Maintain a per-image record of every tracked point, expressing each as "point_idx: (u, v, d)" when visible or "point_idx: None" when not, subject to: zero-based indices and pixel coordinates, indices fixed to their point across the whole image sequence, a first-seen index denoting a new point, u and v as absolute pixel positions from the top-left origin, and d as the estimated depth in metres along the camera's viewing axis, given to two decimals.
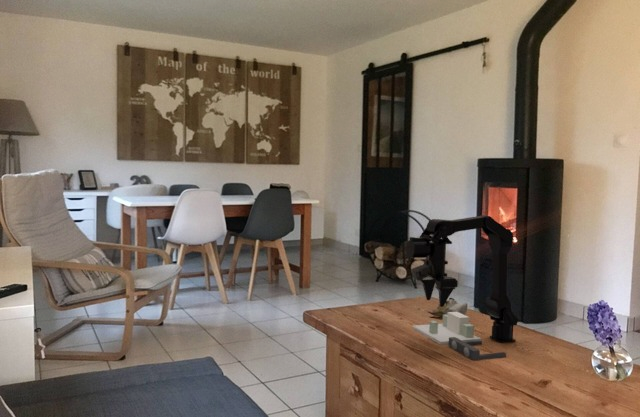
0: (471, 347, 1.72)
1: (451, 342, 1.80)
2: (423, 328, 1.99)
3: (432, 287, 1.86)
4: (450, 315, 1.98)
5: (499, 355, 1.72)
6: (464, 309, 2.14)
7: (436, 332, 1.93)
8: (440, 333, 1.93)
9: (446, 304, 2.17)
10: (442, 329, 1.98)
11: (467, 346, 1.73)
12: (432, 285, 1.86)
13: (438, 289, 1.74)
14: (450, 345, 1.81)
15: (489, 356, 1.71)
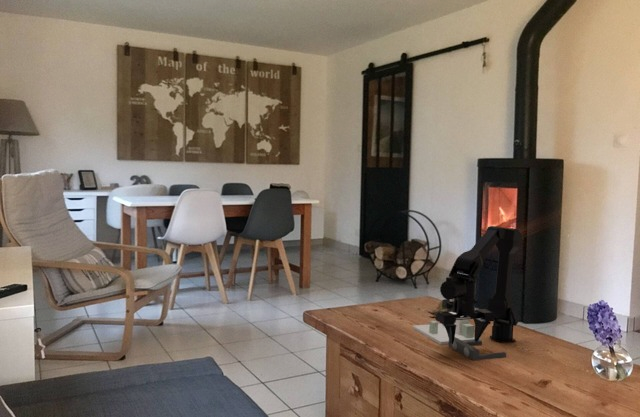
0: (471, 347, 1.72)
1: None
2: (423, 328, 1.99)
3: (479, 330, 1.76)
4: None
5: (499, 355, 1.72)
6: None
7: (436, 332, 1.93)
8: (440, 333, 1.93)
9: None
10: (442, 329, 1.98)
11: (467, 346, 1.73)
12: (480, 327, 1.76)
13: None
14: (450, 345, 1.81)
15: (489, 356, 1.71)
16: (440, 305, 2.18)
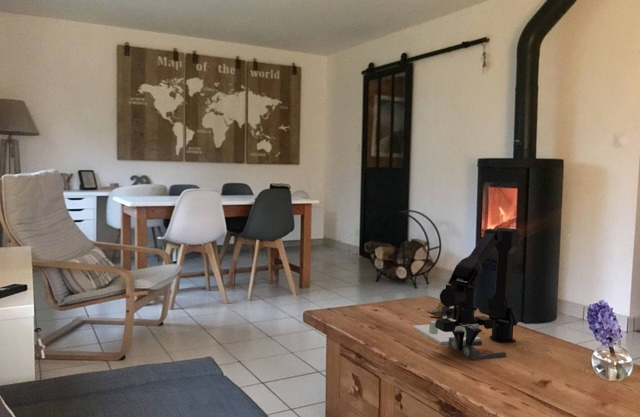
0: (471, 347, 1.72)
1: (451, 342, 1.80)
2: (423, 328, 1.99)
3: (470, 337, 1.75)
4: None
5: (499, 355, 1.72)
6: None
7: (436, 332, 1.93)
8: (440, 333, 1.93)
9: None
10: None
11: (467, 346, 1.73)
12: (471, 335, 1.75)
13: None
14: (450, 345, 1.81)
15: (489, 356, 1.71)
16: (440, 305, 2.18)
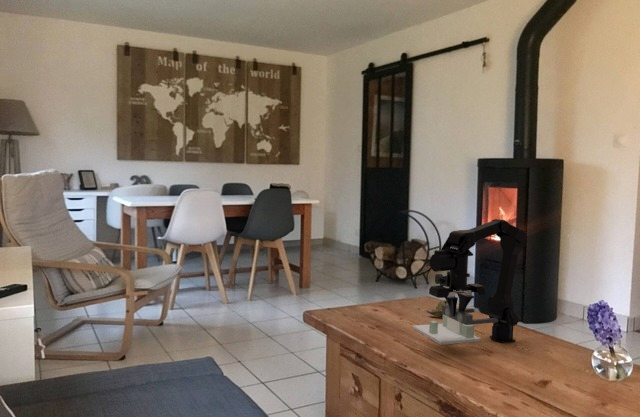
0: (464, 313, 1.76)
1: (445, 309, 1.84)
2: (423, 328, 1.99)
3: (463, 304, 1.79)
4: None
5: (491, 320, 1.76)
6: None
7: (436, 332, 1.93)
8: (440, 333, 1.93)
9: (445, 304, 2.17)
10: (442, 329, 1.98)
11: (460, 312, 1.77)
12: (464, 302, 1.79)
13: None
14: (443, 313, 1.85)
15: (482, 321, 1.75)
16: (439, 305, 2.19)
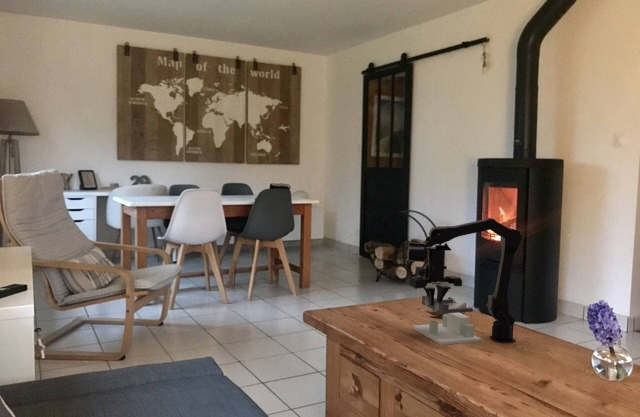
0: (441, 302, 1.89)
1: (424, 300, 1.97)
2: (423, 328, 1.99)
3: (441, 294, 1.92)
4: (450, 315, 1.98)
5: (466, 310, 1.89)
6: None
7: (436, 332, 1.93)
8: (440, 333, 1.93)
9: None
10: (442, 329, 1.98)
11: (437, 302, 1.90)
12: (441, 292, 1.92)
13: None
14: (423, 303, 1.98)
15: (457, 310, 1.88)
16: None
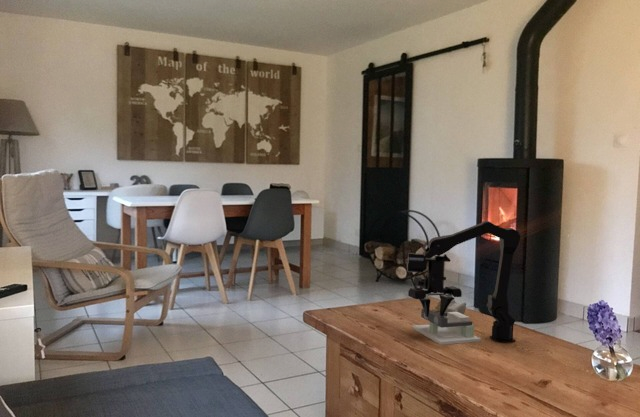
0: (440, 316, 1.90)
1: (424, 313, 1.98)
2: (423, 328, 1.99)
3: (444, 305, 1.93)
4: (450, 315, 1.98)
5: (466, 323, 1.90)
6: (463, 308, 2.15)
7: (436, 332, 1.93)
8: (440, 333, 1.93)
9: None
10: (442, 329, 1.98)
11: (437, 315, 1.91)
12: (445, 303, 1.93)
13: None
14: (422, 316, 1.99)
15: (456, 324, 1.89)
16: (439, 305, 2.19)
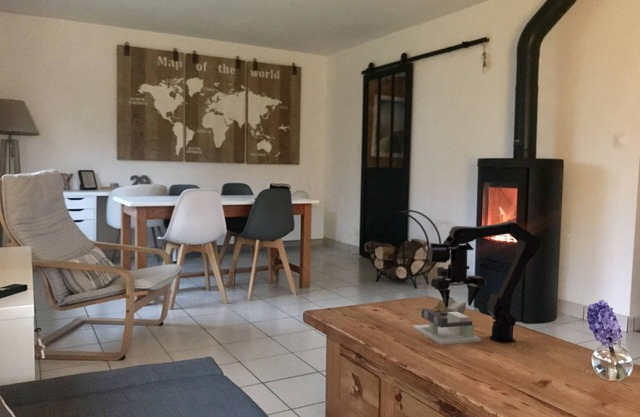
0: (440, 316, 1.90)
1: (424, 313, 1.98)
2: (423, 328, 1.99)
3: (472, 294, 1.90)
4: (450, 315, 1.98)
5: (466, 323, 1.90)
6: (463, 308, 2.15)
7: (436, 332, 1.93)
8: (440, 333, 1.93)
9: None
10: (442, 329, 1.98)
11: (437, 315, 1.91)
12: (472, 292, 1.90)
13: None
14: (422, 316, 1.99)
15: (456, 324, 1.89)
16: (439, 305, 2.19)
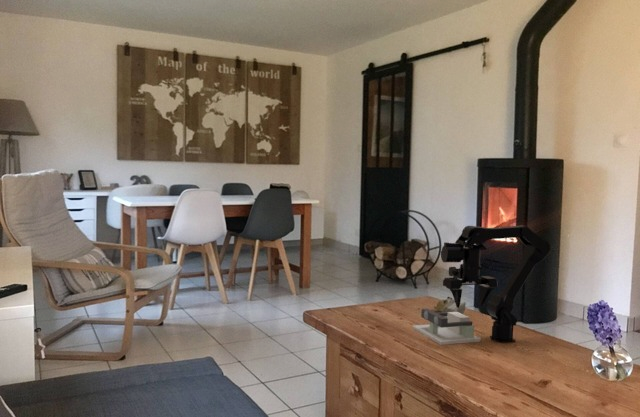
0: (440, 316, 1.90)
1: (424, 313, 1.98)
2: (423, 328, 1.99)
3: (484, 294, 1.88)
4: (450, 315, 1.98)
5: (466, 323, 1.90)
6: (462, 308, 2.15)
7: (436, 332, 1.93)
8: (440, 333, 1.93)
9: (444, 303, 2.18)
10: (442, 329, 1.98)
11: (437, 315, 1.91)
12: (484, 293, 1.88)
13: None
14: (422, 316, 1.99)
15: (456, 324, 1.89)
16: (439, 304, 2.19)
